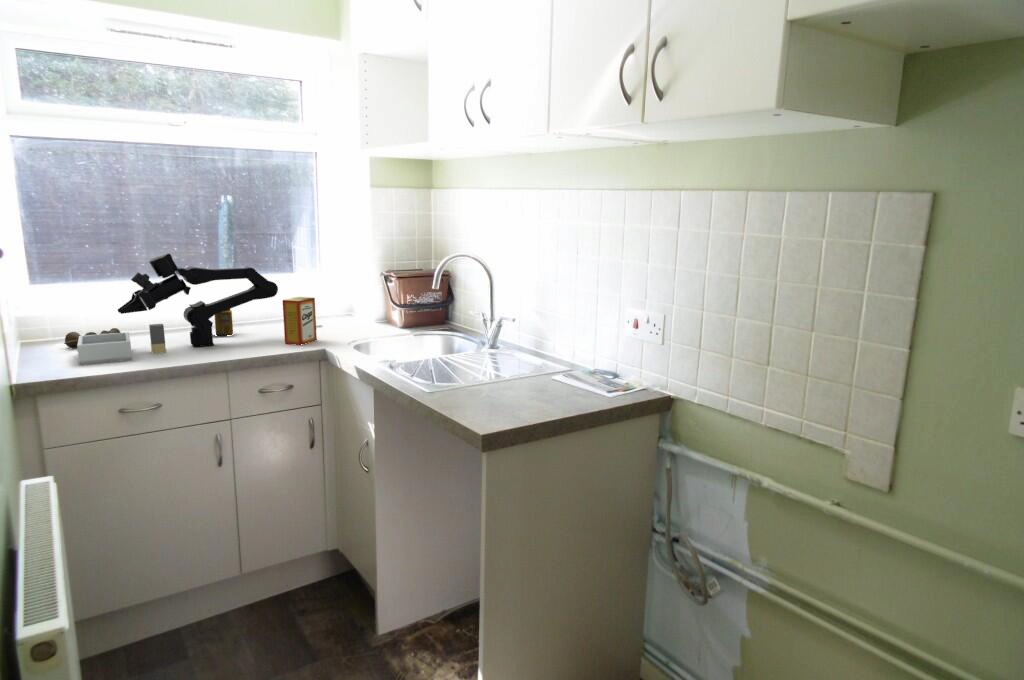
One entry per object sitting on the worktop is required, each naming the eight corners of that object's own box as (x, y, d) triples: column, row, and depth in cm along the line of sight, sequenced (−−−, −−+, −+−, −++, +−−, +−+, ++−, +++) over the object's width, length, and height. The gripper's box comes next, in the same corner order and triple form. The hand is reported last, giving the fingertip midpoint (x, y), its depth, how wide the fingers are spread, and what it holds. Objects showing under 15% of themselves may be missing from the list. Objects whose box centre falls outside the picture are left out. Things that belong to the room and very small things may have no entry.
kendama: (128, 343, 239) (75, 353, 220) (108, 342, 242) (54, 351, 224) (126, 326, 238) (73, 334, 219) (106, 325, 241) (52, 333, 223)
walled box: (130, 349, 226) (128, 332, 225) (132, 360, 211) (130, 341, 209) (81, 353, 219) (79, 335, 218) (79, 365, 204) (77, 345, 202)
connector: (165, 350, 226) (162, 323, 224) (166, 352, 222) (163, 325, 221) (151, 351, 224) (149, 324, 222) (152, 353, 220) (149, 326, 219)
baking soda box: (300, 345, 235) (298, 300, 232) (285, 344, 237) (282, 299, 234) (316, 340, 244) (314, 296, 241) (301, 339, 246) (299, 295, 243)
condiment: (236, 333, 257) (233, 301, 255) (232, 337, 249) (229, 305, 247) (215, 333, 256) (213, 302, 253) (211, 337, 247) (208, 305, 245)
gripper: (149, 267, 230) (103, 289, 223) (155, 267, 214) (105, 290, 207) (167, 296, 233) (122, 318, 226) (174, 297, 218) (126, 321, 211)
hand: (119, 311), depth 218 cm, fingers open, 9 cm apart
